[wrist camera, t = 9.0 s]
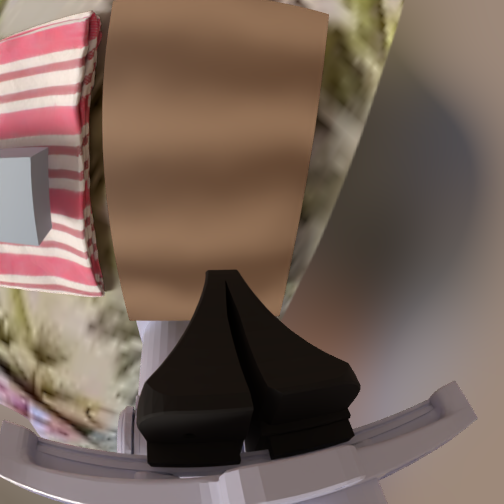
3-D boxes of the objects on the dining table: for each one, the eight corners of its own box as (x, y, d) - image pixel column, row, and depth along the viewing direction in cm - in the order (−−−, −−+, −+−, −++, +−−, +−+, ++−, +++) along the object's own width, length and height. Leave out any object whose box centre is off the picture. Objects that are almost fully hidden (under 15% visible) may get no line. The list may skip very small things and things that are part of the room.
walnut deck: (268, 285, 26) (279, 316, 22) (136, 288, 23) (129, 320, 20) (304, 26, 14) (328, 14, 11) (129, 17, 12) (113, 1, 8)
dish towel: (114, 15, 12) (99, 2, 9) (109, 289, 23) (101, 315, 21) (-39, 61, 8) (-62, 64, 5) (-16, 276, 19) (-30, 296, 16)
